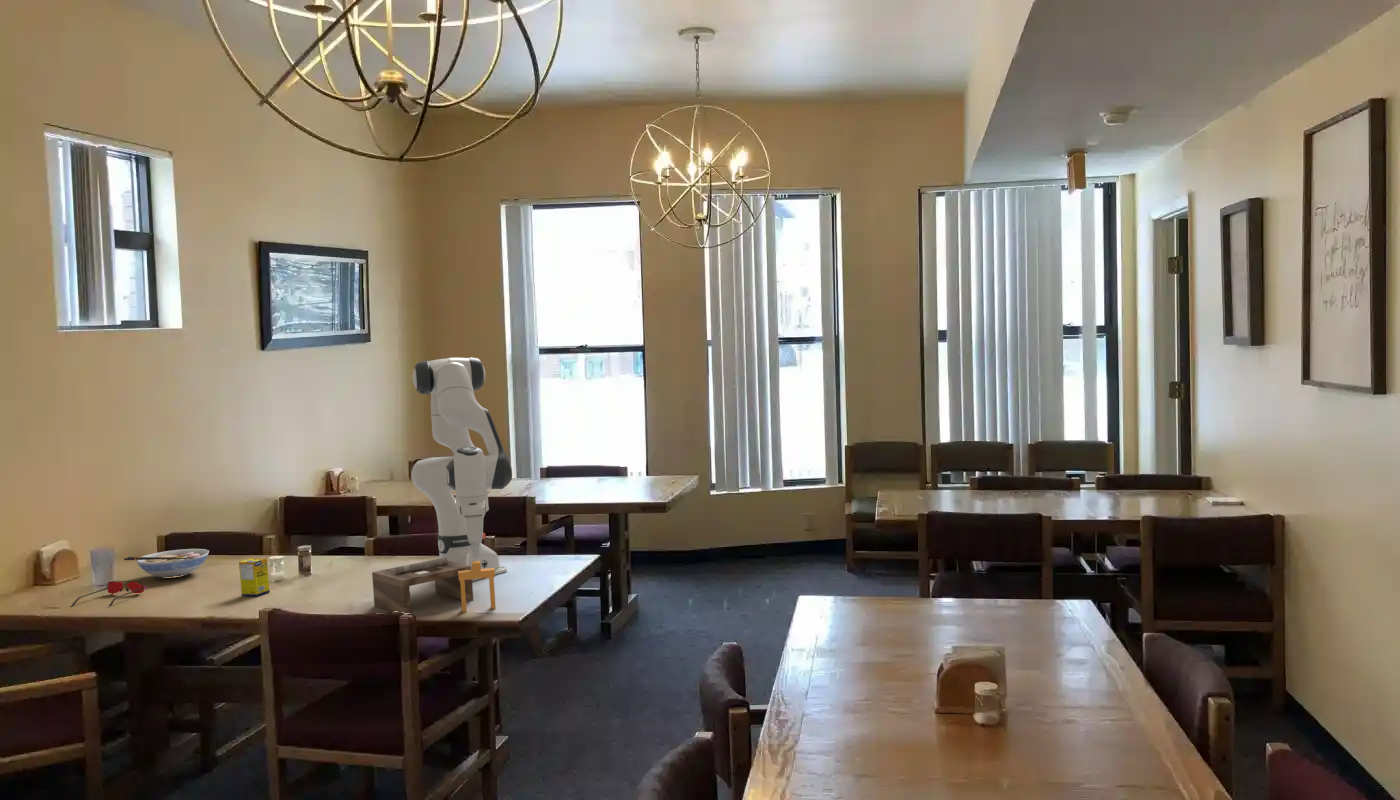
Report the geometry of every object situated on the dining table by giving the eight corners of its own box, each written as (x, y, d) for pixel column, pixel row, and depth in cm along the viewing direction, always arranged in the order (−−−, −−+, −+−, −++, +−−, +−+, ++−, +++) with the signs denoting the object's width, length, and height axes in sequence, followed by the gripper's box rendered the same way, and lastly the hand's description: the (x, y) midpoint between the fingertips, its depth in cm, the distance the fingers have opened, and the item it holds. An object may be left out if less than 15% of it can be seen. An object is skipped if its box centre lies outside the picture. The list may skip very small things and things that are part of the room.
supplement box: (270, 592, 345) (267, 557, 344) (256, 597, 339) (254, 562, 338) (254, 591, 347) (252, 557, 346) (241, 596, 341) (238, 561, 340)
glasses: (147, 595, 351) (145, 580, 351) (109, 608, 335) (107, 592, 334) (109, 595, 354) (108, 580, 354) (70, 608, 338) (68, 592, 337)
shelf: (441, 591, 334) (439, 552, 334) (473, 599, 321) (470, 559, 321) (374, 606, 319) (371, 565, 319) (404, 615, 306) (401, 573, 306)
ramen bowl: (227, 568, 386) (225, 545, 385) (186, 584, 363) (184, 559, 363) (163, 569, 390) (161, 546, 389) (119, 584, 368) (117, 560, 367)
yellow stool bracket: (460, 609, 310) (457, 562, 309) (496, 606, 313) (493, 559, 312) (460, 612, 307) (457, 564, 307) (497, 608, 310) (494, 561, 309)
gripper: (460, 501, 317) (463, 549, 318) (461, 511, 298) (464, 561, 298) (482, 499, 319) (485, 547, 320) (485, 509, 299) (488, 559, 300)
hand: (475, 554), depth 309 cm, fingers open, 8 cm apart
